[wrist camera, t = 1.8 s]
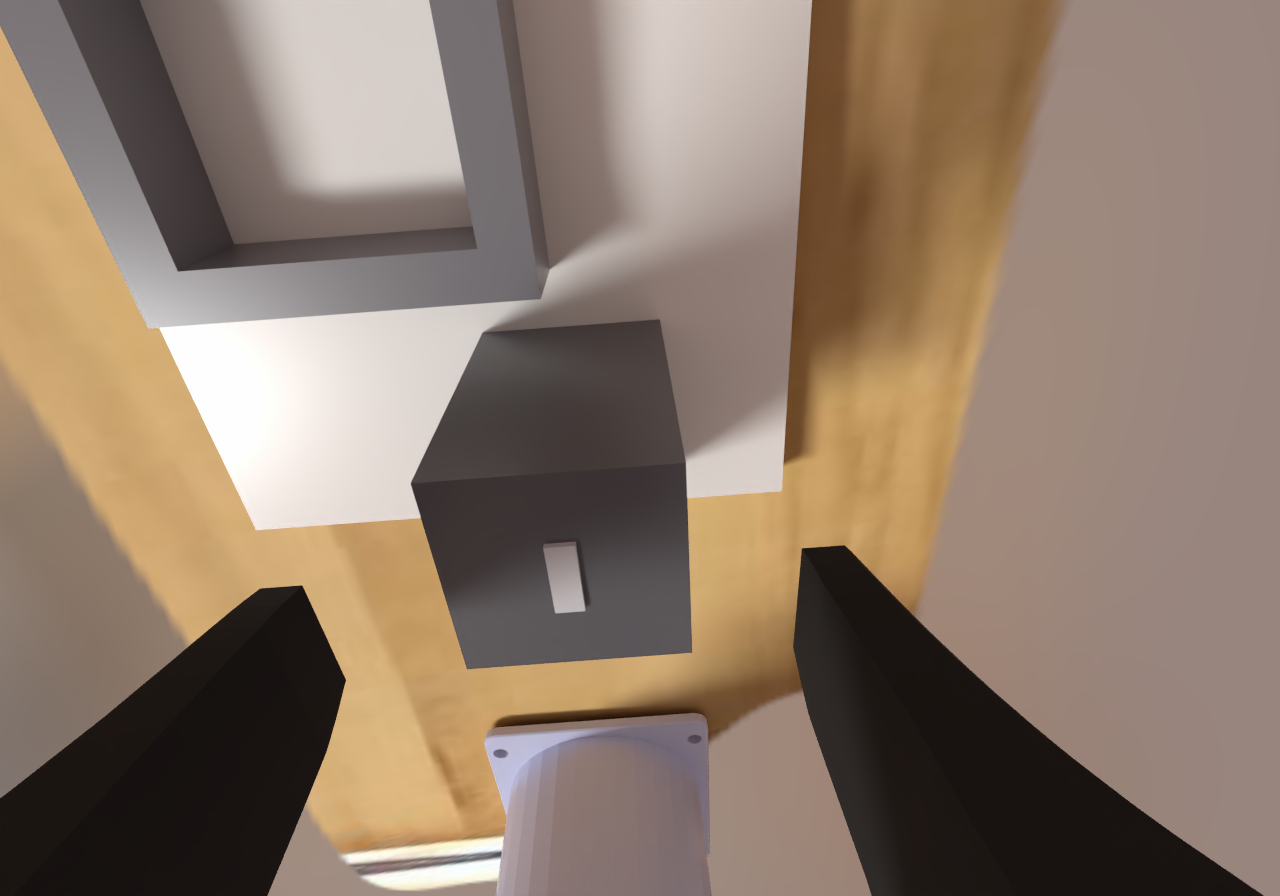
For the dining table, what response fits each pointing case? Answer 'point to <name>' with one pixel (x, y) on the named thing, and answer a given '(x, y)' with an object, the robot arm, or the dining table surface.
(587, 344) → the block
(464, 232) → the outlet plate
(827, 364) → the dining table surface
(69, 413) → the dining table surface
